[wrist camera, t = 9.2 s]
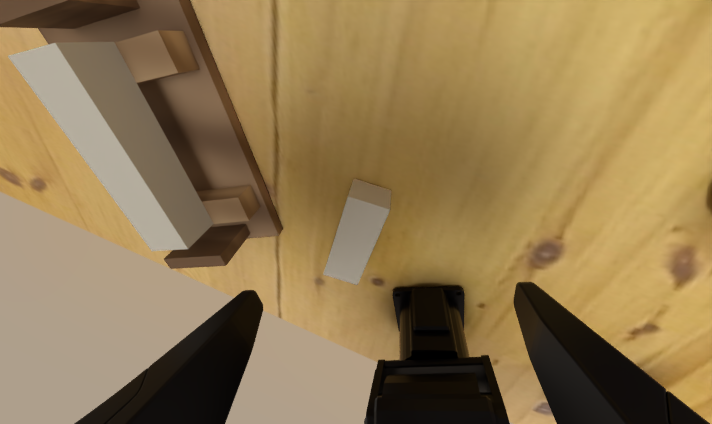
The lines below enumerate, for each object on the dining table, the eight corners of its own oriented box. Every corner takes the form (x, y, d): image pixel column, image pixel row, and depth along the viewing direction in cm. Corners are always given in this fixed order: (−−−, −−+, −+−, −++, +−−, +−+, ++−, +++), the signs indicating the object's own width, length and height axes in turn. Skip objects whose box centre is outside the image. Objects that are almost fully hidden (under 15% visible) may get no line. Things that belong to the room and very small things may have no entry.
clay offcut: (357, 285, 23) (361, 260, 25) (390, 209, 18) (391, 189, 21) (323, 274, 23) (330, 250, 25) (347, 196, 18) (354, 177, 21)
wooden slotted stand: (282, 228, 24) (258, 268, 20) (188, 236, 26) (148, 274, 22) (175, -36, 15) (87, -64, 11) (43, 10, 17) (-73, 1, 13)
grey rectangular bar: (213, 223, 21) (188, 248, 18) (180, 226, 21) (151, 251, 19) (114, 41, 15) (55, 42, 12) (71, 52, 15) (7, 56, 13)
